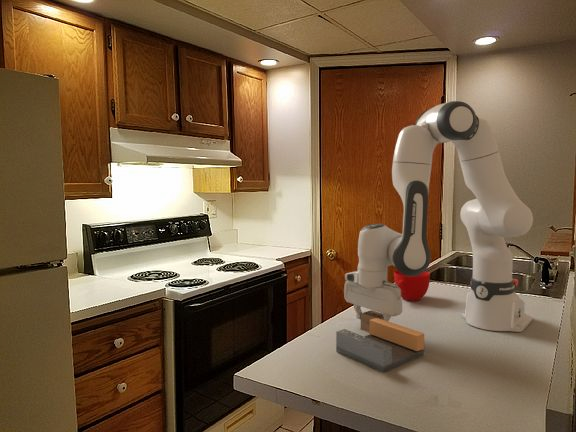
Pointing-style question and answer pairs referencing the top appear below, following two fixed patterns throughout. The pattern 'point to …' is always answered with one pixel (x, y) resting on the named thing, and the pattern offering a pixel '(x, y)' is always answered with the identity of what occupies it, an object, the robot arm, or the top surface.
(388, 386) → the top surface
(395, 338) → the block
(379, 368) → the frame
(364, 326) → the block
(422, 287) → the ceramic cup
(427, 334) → the top surface
